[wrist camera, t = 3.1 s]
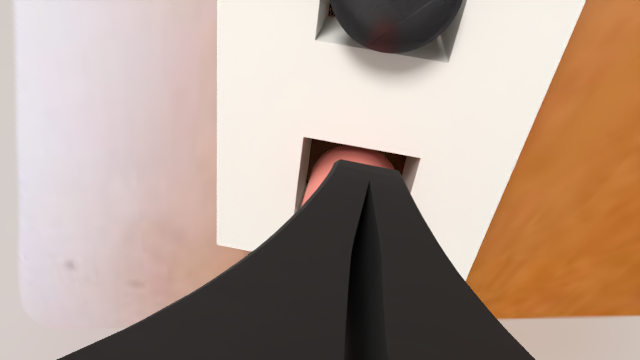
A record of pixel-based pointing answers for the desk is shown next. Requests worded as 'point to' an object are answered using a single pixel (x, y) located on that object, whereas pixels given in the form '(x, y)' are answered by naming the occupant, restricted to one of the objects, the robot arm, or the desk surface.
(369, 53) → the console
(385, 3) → the graphite plug
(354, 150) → the red plug
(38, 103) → the desk surface
